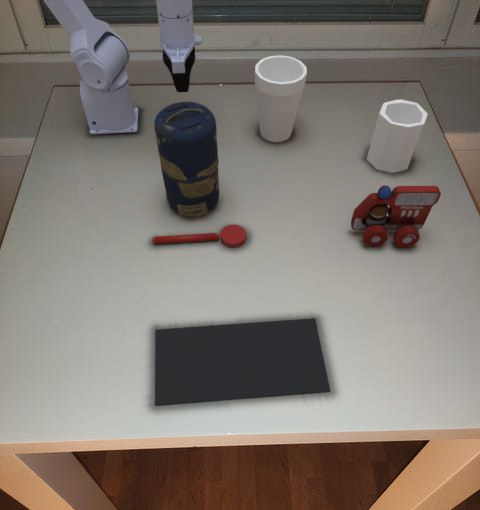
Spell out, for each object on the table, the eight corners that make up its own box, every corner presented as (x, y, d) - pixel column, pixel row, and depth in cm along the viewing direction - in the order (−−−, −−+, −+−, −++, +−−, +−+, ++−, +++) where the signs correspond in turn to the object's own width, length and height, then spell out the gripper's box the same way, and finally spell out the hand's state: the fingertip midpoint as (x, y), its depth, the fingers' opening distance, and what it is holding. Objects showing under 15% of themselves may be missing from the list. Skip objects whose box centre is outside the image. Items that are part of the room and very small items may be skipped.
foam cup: (247, 142, 95) (249, 79, 84) (258, 115, 100) (261, 52, 89) (294, 150, 93) (301, 87, 83) (302, 122, 98) (311, 59, 87)
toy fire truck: (346, 217, 84) (359, 169, 75) (416, 219, 83) (437, 171, 75) (350, 247, 80) (364, 200, 71) (423, 249, 80) (447, 202, 71)
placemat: (155, 405, 64) (154, 404, 64) (155, 330, 70) (155, 329, 70) (330, 391, 65) (330, 390, 65) (314, 319, 72) (315, 318, 72)
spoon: (152, 252, 79) (151, 247, 78) (153, 233, 81) (152, 228, 80) (247, 246, 80) (247, 241, 79) (244, 227, 82) (244, 222, 81)
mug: (414, 173, 90) (432, 127, 82) (369, 172, 90) (382, 126, 82) (403, 133, 97) (418, 87, 88) (361, 133, 97) (372, 87, 88)
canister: (224, 216, 83) (222, 125, 68) (171, 225, 82) (156, 134, 67) (213, 180, 89) (209, 88, 73) (163, 188, 87) (148, 96, 72)
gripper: (201, 32, 73) (205, 112, 84) (198, -11, 81) (202, 68, 92) (155, 33, 73) (165, 114, 84) (156, -10, 80) (166, 69, 92)
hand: (182, 90), depth 88 cm, fingers closed
